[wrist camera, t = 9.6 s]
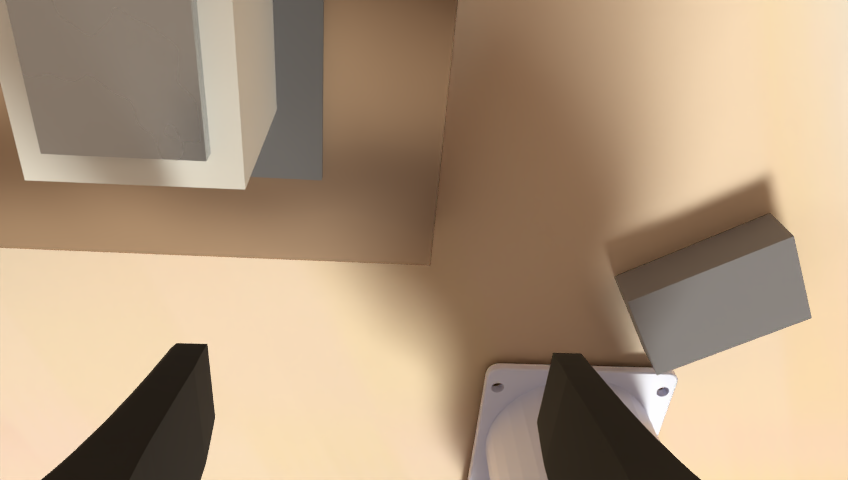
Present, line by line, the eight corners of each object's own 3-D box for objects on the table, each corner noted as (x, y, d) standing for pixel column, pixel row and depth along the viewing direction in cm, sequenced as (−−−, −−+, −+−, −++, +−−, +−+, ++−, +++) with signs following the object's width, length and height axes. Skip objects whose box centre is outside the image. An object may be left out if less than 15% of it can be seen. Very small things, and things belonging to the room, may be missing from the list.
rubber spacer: (784, 287, 27) (811, 318, 25) (640, 342, 28) (656, 375, 26) (765, 208, 25) (793, 236, 23) (611, 271, 26) (627, 302, 24)
